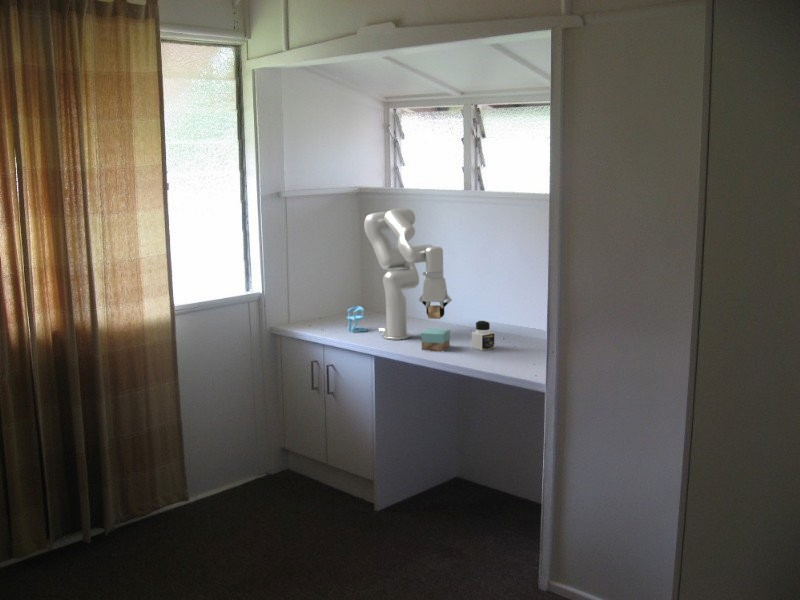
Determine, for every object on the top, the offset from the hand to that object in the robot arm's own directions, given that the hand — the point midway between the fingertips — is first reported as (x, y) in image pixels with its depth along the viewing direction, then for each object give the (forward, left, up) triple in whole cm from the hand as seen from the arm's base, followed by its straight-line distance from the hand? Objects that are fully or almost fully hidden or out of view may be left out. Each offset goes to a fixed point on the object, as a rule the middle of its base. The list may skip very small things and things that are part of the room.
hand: (435, 316), depth 365 cm
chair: (-48, +26, -15) cm, 57 cm away
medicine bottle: (+20, +5, -15) cm, 25 cm away
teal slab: (0, +1, -11) cm, 11 cm away
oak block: (0, 0, -1) cm, 1 cm away
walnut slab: (0, 0, -15) cm, 15 cm away
